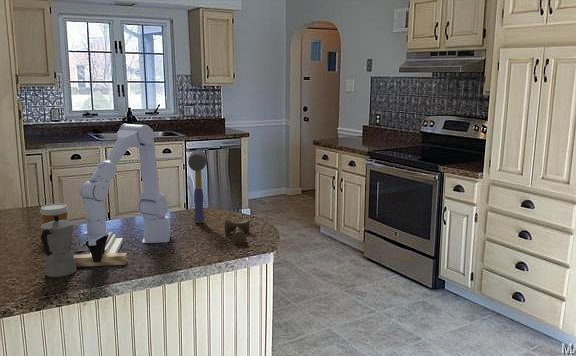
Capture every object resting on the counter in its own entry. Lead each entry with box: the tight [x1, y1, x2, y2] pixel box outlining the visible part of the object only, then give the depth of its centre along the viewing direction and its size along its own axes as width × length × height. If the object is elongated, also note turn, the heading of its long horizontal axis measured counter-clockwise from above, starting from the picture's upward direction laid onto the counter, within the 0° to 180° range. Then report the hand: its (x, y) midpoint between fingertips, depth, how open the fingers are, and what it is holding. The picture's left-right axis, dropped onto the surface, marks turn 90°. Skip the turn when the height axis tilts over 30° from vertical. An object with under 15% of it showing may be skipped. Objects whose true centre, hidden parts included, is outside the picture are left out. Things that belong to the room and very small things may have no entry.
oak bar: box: [73, 252, 128, 268], centre depth 155 cm, size 16×3×3 cm, turn 99°
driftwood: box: [75, 236, 90, 253], centre depth 175 cm, size 21×7×2 cm, turn 1°
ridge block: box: [89, 231, 124, 254], centre depth 168 cm, size 8×16×4 cm, turn 9°
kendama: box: [224, 218, 251, 245], centre depth 184 cm, size 6×10×20 cm
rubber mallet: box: [187, 149, 208, 224], centre depth 198 cm, size 12×8×30 cm, turn 7°
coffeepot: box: [40, 215, 77, 278], centre depth 146 cm, size 15×9×18 cm, turn 179°
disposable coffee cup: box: [39, 203, 69, 224], centre depth 179 cm, size 10×10×12 cm
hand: (98, 259), depth 155 cm, fingers closed on oak bar, 3 cm apart
